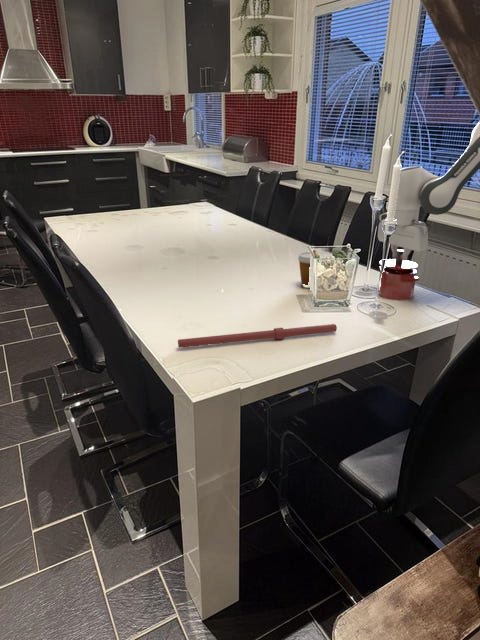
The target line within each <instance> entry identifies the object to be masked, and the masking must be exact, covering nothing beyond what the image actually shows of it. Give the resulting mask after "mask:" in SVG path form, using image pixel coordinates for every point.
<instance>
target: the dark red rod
mask: <svg viewBox="0 0 480 640" xmlns="http://www.w3.org/2000/svg"><path fill="white" fill-rule="evenodd" d="M337 329H338V326H337V325H336V324H335V323H329V324H320V325H310V326H300V327H299V326H298V327H289V328H283V327H274V328H273V329H272V330H260V331H251V332H250V331H249V332H240V333H230V334H229V333H228V334H221V335H212V336H211V335H209V336H201V337H190V338H181V339H178V340H177V346H178V348H179V349H181V348H180V347H183V348H190V347H189V346H193V347H200V346H199V345H203V346H209V345H208V344H212V345H220V343H222V344H231V343H240V342H241V343H242V342H250V341H258V340H259V341H260V340H269V339H274V340H284V339H285V338H288V337H297V336H307V335H317V334H326V333H336V332H337ZM230 342H231V343H230Z"/></svg>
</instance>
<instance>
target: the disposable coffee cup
mask: <svg viewBox="0 0 480 640" xmlns="http://www.w3.org/2000/svg"><path fill="white" fill-rule="evenodd" d="M310 252H311V251H308V252H301V253H299V254H298V257H297V260H298V263H299V273H300V284H301V283H302V284H305V285H308V282H309V267H310ZM302 284H301V285H302Z"/></svg>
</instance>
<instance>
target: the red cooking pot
mask: <svg viewBox="0 0 480 640" xmlns="http://www.w3.org/2000/svg"><path fill="white" fill-rule="evenodd" d="M378 270H379V274H380V273H381V266H378ZM419 280H420V277H418V276H417V270H416V269H412V270H395V269H390V268H387V267H384V271H383V273H382V278H381V287H380V295H379V297H381V298H383V299H386V300H391V301H407V300H411V299H413V298H414V296H415V295H414V294H415V286H416V282H419Z"/></svg>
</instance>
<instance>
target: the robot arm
mask: <svg viewBox="0 0 480 640" xmlns="http://www.w3.org/2000/svg"><path fill="white" fill-rule="evenodd" d="M400 170H401V176H400V184H399V190H398V199H397V206H396V212H395V219H397V226H396V230H395V231H394V232H393V234H392V235H391V236H390V237H389V245H390V249H391V252H392V257H391V258H392V259H396V253H397V250H399V249H398V248H402V250H403V251H404V253H403V255H400V260H402V261H408V256H409V254H410V253H411V252H412V251H414V252H424V251H426V250H427V249H428V245H429V232H428V230H429V228H428V226H427V223H426V222H425V221H419V217H420V209H421V207H422V209H423V210H424V211H425V212H426V213H428V214H430V215H434V216H439V215H444V214H446V213H447V212H449V211H450V210H451V209H452V208H454V206H455V205H456V203H457V201H458V198H459V195H460V192H461V191H462V190H463V188H464V187H465V185H466V184H467V183H468V182H469V181H470V180H471V179H472V178H473V177H474V176H475V174H476V173H477V172H478V171H479V170H480V120H479V121H478V122H477V123H476V125H475V127H474V128H473V130H472V132H471V138H470V141H469V144H468V146H467V148H466V149H465V151H464V152H463V154H461V156H460V157H459V158H458V159H457V160H456V161H455V163H454V164H452V166H451V167H450V168H449V169H448V170H447V171H446V173H444V175H442V176H440V175H439V176H438V175H436V174H433V173H432V172H429V171H428V170H426V169H425V168H423V166H421V165H412V166H407V167H402V168H400ZM387 213H388V212H385V213H381V214H379V216H378V217H379V223H378V228H377V239H378V241H379V242H381V243H385V242H384V233H383V231H382V228H381V222H382V220H383V219H385V218H386V217H387Z"/></svg>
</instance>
